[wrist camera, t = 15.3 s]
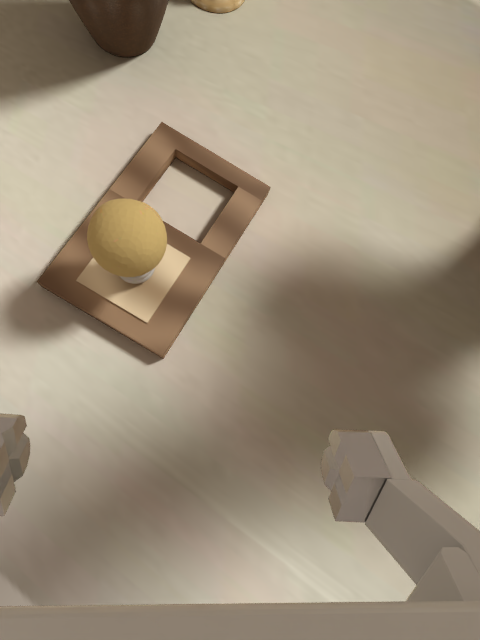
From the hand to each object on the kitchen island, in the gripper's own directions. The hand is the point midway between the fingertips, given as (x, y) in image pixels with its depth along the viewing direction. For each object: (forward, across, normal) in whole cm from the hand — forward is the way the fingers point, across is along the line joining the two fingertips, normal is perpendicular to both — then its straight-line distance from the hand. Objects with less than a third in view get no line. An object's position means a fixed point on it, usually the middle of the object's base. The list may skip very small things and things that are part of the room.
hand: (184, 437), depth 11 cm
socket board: (+34, +3, +7) cm, 35 cm away
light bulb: (+30, +6, +9) cm, 32 cm away
